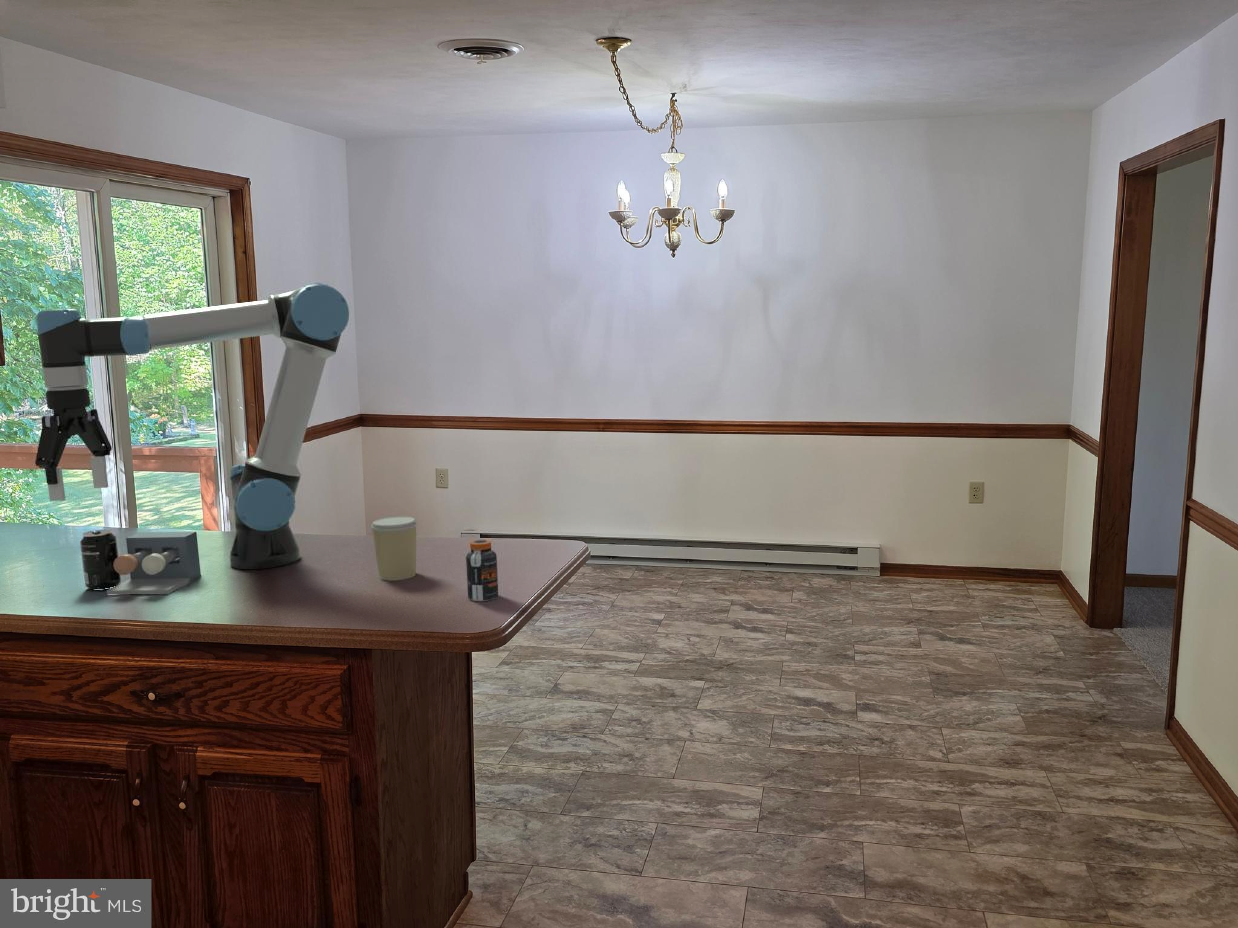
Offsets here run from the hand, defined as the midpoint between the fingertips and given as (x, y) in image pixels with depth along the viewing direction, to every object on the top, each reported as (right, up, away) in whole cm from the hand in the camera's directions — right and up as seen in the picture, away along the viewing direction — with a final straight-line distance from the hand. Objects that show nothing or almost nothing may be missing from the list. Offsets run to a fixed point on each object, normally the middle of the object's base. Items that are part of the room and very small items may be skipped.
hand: (80, 493), depth 197 cm
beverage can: (-1, -20, +11) cm, 23 cm away
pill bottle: (+82, -20, -5) cm, 84 cm away
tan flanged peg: (+7, -16, +12) cm, 21 cm away
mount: (+10, -20, +11) cm, 25 cm away
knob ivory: (+13, -16, +11) cm, 23 cm away
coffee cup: (+61, -18, +13) cm, 65 cm away
